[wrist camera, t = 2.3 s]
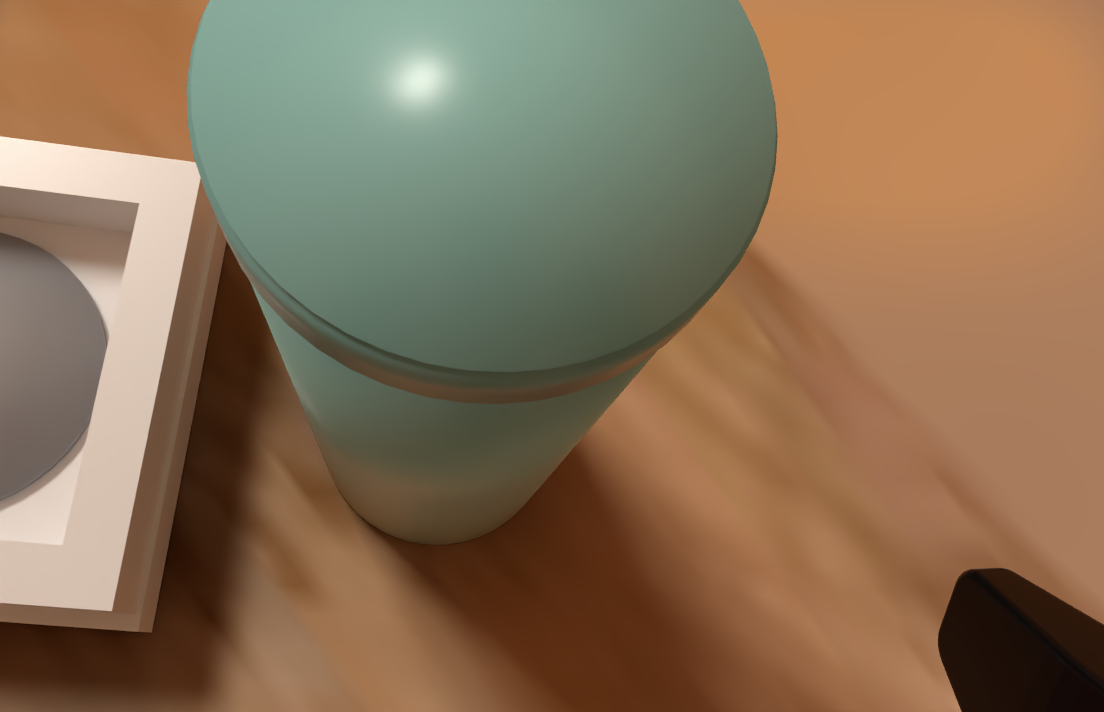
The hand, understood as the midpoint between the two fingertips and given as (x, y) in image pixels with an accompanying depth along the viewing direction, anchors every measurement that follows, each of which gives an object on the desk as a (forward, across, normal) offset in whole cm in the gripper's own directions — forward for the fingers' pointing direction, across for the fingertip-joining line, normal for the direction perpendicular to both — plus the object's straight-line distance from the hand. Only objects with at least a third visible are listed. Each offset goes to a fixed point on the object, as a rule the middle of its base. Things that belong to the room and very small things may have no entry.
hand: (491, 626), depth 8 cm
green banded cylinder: (+11, 0, +5) cm, 12 cm away
